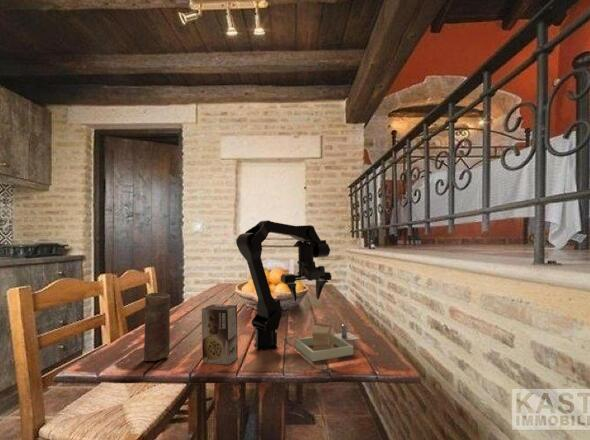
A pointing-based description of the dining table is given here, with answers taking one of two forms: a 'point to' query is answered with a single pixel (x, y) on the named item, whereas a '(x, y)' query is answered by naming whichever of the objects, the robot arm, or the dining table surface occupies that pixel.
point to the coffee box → (219, 334)
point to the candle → (157, 326)
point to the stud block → (345, 334)
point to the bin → (342, 350)
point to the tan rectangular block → (323, 336)
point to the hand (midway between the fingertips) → (306, 300)
